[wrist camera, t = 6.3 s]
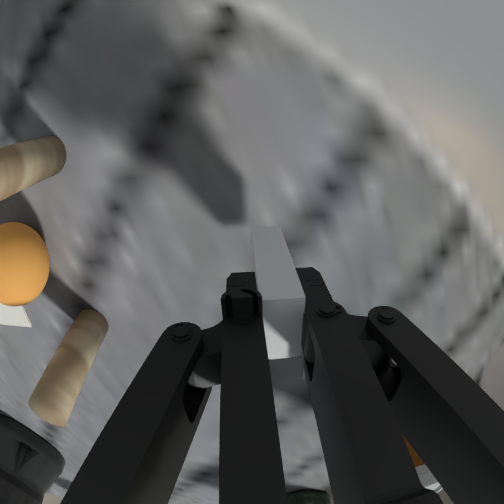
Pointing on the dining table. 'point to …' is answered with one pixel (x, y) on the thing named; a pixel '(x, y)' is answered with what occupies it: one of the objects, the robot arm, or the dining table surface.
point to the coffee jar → (308, 498)
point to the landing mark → (14, 316)
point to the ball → (21, 264)
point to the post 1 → (29, 163)
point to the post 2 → (68, 368)
